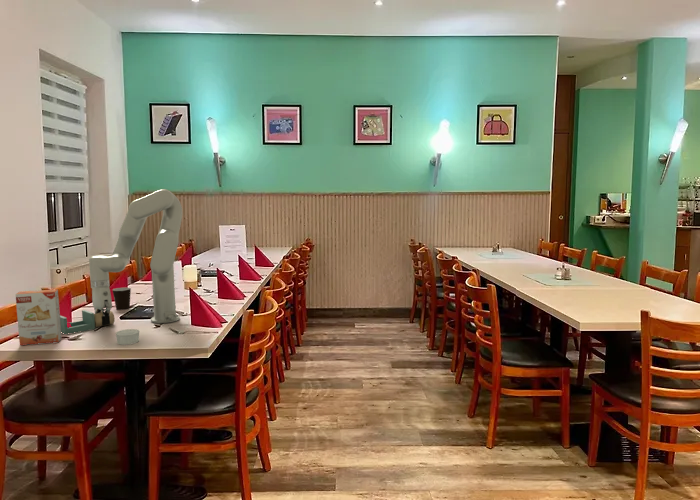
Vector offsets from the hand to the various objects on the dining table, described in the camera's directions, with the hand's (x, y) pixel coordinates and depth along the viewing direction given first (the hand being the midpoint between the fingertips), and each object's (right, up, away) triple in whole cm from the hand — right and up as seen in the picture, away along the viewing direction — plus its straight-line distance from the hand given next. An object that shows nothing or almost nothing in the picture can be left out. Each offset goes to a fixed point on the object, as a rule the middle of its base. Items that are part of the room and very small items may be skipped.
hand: (102, 323), depth 245 cm
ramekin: (+22, -4, -27) cm, 35 cm away
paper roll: (0, -1, 0) cm, 1 cm away
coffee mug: (-5, +3, +37) cm, 37 cm away
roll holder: (-9, -2, -6) cm, 11 cm away
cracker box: (-13, -5, -26) cm, 29 cm away
